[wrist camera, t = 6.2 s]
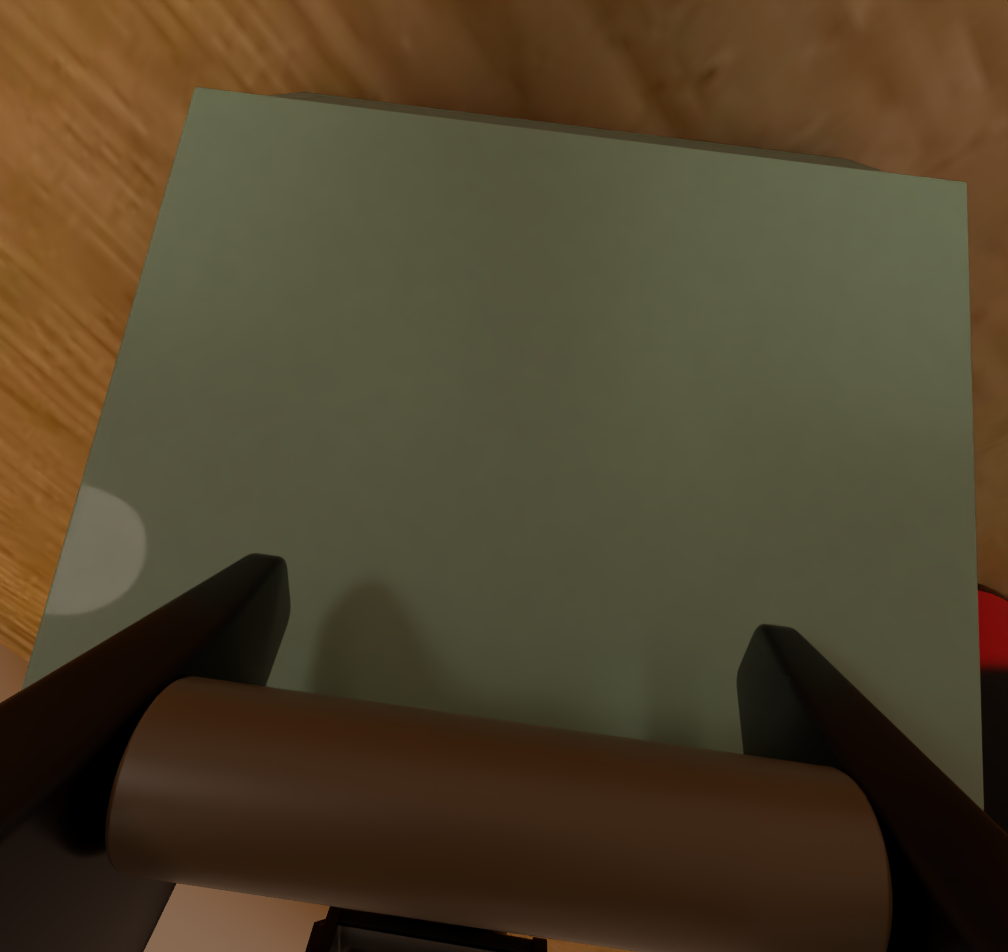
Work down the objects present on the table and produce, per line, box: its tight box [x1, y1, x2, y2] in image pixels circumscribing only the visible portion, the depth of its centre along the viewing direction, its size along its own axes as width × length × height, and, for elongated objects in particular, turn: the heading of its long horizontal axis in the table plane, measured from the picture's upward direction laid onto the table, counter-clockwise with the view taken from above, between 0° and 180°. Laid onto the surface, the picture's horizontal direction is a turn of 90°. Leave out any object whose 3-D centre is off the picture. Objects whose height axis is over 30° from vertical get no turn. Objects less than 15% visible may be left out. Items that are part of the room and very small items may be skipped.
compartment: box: [268, 92, 884, 172], centre depth 17 cm, size 11×13×5 cm
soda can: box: [978, 590, 1008, 834], centre depth 19 cm, size 8×8×12 cm
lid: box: [21, 87, 984, 952], centre depth 8 cm, size 12×13×5 cm
